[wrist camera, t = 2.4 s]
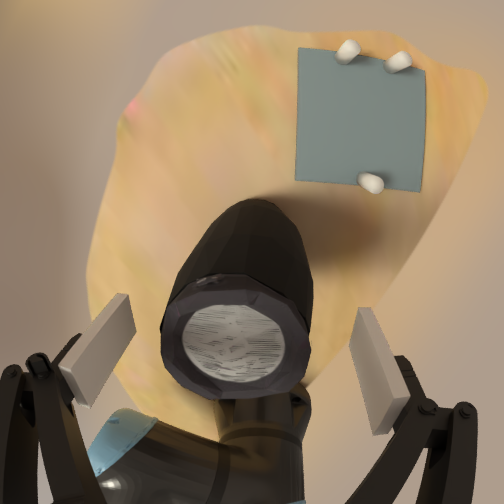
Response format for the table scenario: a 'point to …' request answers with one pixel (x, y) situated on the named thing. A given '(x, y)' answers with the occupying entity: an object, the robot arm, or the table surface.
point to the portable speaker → (241, 307)
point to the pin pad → (360, 119)
